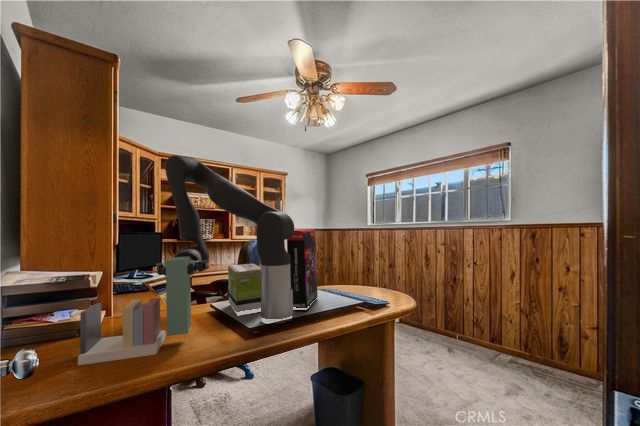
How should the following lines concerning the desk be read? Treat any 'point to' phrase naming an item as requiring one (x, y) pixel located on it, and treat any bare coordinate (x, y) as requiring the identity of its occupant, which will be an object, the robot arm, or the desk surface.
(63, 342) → the desk surface
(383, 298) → the desk surface
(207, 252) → the robot arm
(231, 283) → the tea box
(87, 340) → the bookend
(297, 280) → the graphics card box
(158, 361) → the desk surface
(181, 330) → the book
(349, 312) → the desk surface
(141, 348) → the shelf
